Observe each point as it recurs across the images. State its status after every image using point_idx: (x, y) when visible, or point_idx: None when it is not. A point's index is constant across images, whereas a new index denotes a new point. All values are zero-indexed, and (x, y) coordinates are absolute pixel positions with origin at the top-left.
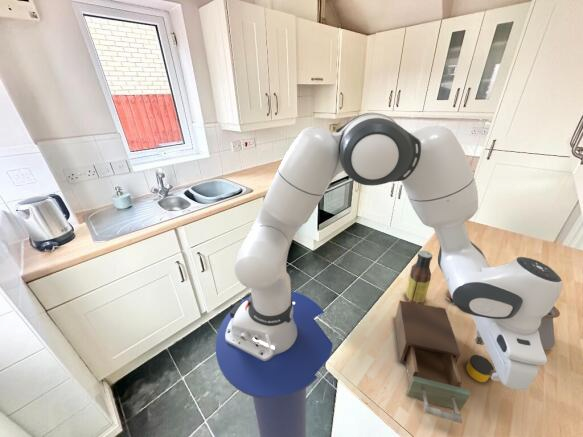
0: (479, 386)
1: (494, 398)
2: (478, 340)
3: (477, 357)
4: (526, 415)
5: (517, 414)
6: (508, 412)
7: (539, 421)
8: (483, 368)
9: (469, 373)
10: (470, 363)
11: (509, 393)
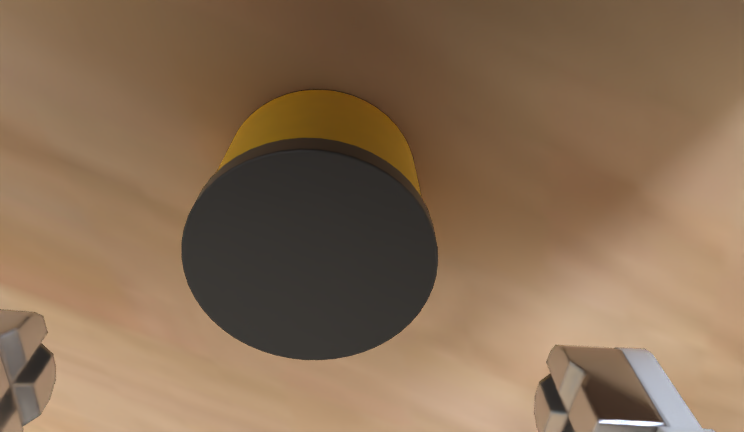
0: (173, 145)
1: (98, 223)
2: (585, 412)
3: (396, 255)
4: None
5: None
6: (15, 273)
7: (47, 415)
8: (247, 260)
9: (280, 101)
10: (308, 138)
11: (191, 341)
